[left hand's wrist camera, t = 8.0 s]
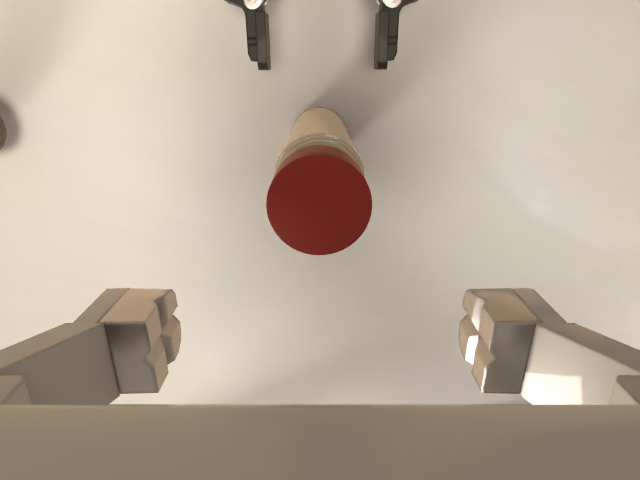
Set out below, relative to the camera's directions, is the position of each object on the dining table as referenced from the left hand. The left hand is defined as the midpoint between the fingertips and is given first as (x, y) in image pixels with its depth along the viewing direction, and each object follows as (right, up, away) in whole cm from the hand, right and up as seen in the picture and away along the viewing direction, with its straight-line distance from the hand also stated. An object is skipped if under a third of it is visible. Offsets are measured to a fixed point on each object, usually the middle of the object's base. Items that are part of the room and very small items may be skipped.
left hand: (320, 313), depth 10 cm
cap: (0, +3, +8) cm, 9 cm away
